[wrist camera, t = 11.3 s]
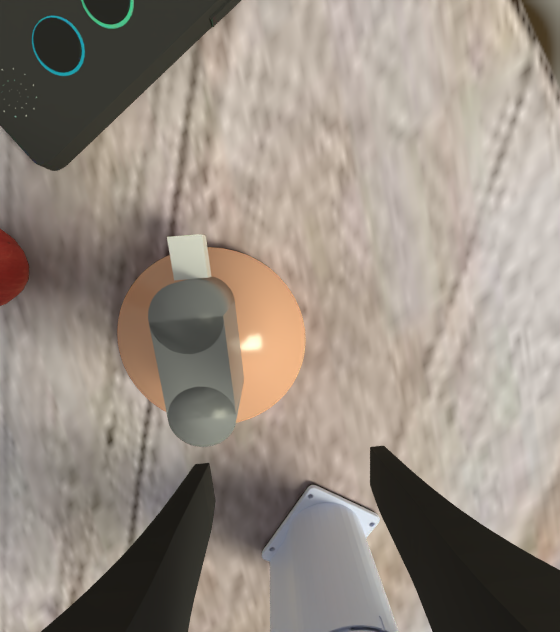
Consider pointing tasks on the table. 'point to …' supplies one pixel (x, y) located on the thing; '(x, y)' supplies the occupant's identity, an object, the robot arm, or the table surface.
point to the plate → (253, 326)
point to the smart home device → (87, 64)
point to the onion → (11, 268)
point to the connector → (197, 346)
